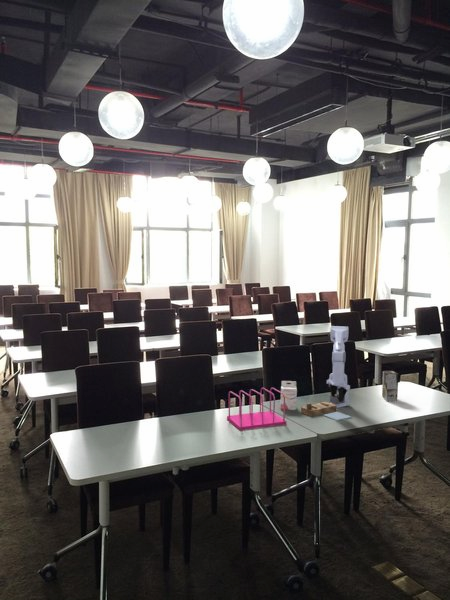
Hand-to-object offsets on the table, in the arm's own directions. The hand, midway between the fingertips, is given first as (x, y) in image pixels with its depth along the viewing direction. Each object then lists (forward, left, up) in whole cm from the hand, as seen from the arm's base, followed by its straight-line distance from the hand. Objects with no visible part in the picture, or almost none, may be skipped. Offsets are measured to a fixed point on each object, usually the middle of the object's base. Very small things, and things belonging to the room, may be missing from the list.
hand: (337, 400), depth 258 cm
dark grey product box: (0, 0, -1) cm, 1 cm away
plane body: (+2, -12, -9) cm, 15 cm away
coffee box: (-49, -7, -9) cm, 50 cm away
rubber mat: (0, 0, -9) cm, 9 cm away
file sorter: (+40, -16, -9) cm, 44 cm away
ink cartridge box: (+12, -25, -9) cm, 29 cm away
